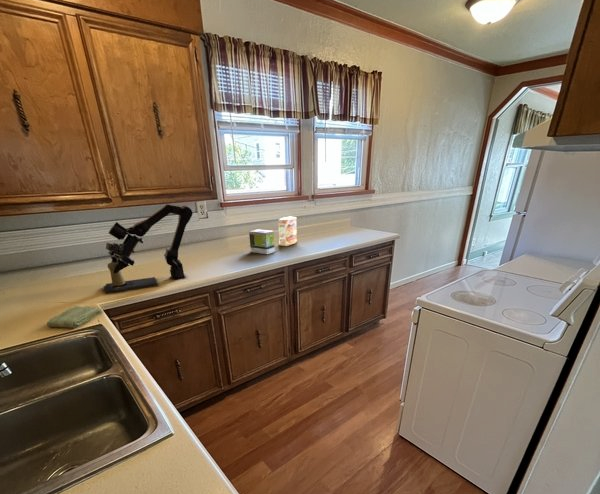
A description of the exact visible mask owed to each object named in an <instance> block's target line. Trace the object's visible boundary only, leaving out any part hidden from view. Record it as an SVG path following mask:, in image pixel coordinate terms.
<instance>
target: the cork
mask: <svg viewBox="0 0 600 494" xmlns="http://www.w3.org/2000/svg"><path fill="white" fill-rule="evenodd" d="M116 264H117V262H109V263H107V268H108V270H109V273H110V278H111V283H112V285H113V286H117V287H119V286H118V285H123V284H125V281H126V280H125V279H124V276H123V274H122V272H121V270H120V271H119V272H117V273H114V272H113V271H114V269H115V267H116Z"/></svg>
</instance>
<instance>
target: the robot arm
mask: <svg viewBox="0 0 600 494" xmlns="http://www.w3.org/2000/svg"><path fill="white" fill-rule="evenodd" d="M170 214H173V215H178V218H177V219H178V220H177V221H178V223H177V225H176V229H175V231H174V235H173V238H172V241H171V244H170V247H169V248H165V253H164V254H163V256H164V261H165V262H166V264H167V265H168V266H169V268H170V269H169V273H170V277H171V279H172V280H179V279H185V278H186V276H185V271H184V266H183V263H182V262H181V260H180V259H179V249H180V246H181V243H182V240H183V237H184V233H185V230H186V228H187V227H186V226H187V225H188V223H189V222H190V221H191V218H192V217H193V214H194V213H193V210H192V208H190V207H189V206H187V205H182V206H179V205H172V204H169V203H166V204H165V205H164V206H162V207H161V208H160V209H158V210H157V211H156V212H155V213H153V214H151V215H150V216H149V217H147V218H146V219H143V220H140V221H138V222H137V223H134V224H133V226H130V227H124V226H123V225H121V224H120V223H119V222H117V221H115V223H114V224H113V226H111V227H110V229H109V231H108V234H109V235H111V236H112V237H113V238H115V239H117V240H118V241H123V242H122V243H116V242H113V243H110V242H106V246H105V250H107V251H108V252H107V254H108V255H109V257H110V259H111V262H117V264H116V267H115V269H114V271H113V272H114V273H117V272H119V271H120V272H121V271H122V270H124V269H126V268H128V267H130V266H132V267H134V265H135V260H134V259H133V258H131V255H132V253H133V254H134V253H135V249H136V247H137V246H138V244H139V243H140V244H144V240H143V237H144V236H145V235H146V234H147V233H148V232H149V231H150V229H151V228H152V227H153V226H155V225H156V224H158V222H160V221H162V219H164V218H166V217H167V216H168V215H170ZM111 262H110V263H111Z"/></svg>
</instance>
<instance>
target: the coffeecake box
mask: <svg viewBox="0 0 600 494" xmlns="http://www.w3.org/2000/svg"><path fill="white" fill-rule="evenodd" d="M297 218H298V217H296V216H286V217H282V218H281V217H280V218H278V243H279V244H278V245H279V246H282V247H288V246H291V245H293V244H297V241H298V240H297V239H298V238H297V237H298V236H297V234H298V233H297V232H298V231H297V230H298V229H297V228H298V226H297V222H298V221H297V220H298V219H297Z"/></svg>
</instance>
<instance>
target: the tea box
mask: <svg viewBox="0 0 600 494" xmlns="http://www.w3.org/2000/svg"><path fill="white" fill-rule="evenodd" d="M248 236H249V248H250V253H255V254H262V255H270V254H273V253H275V252H276V244H275V231H274V230H267V229H254V230H249V231H248Z"/></svg>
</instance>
